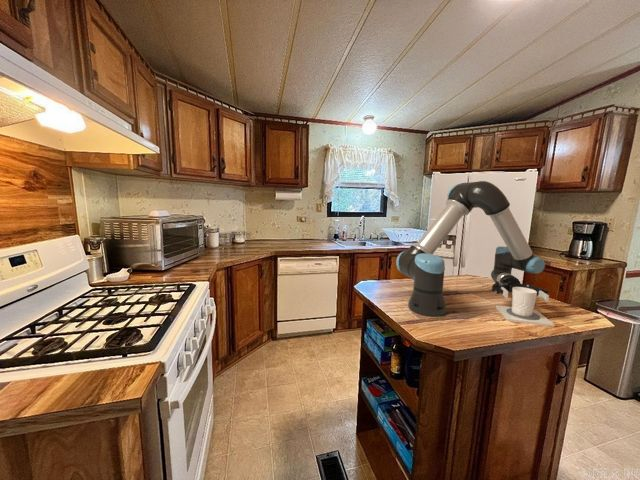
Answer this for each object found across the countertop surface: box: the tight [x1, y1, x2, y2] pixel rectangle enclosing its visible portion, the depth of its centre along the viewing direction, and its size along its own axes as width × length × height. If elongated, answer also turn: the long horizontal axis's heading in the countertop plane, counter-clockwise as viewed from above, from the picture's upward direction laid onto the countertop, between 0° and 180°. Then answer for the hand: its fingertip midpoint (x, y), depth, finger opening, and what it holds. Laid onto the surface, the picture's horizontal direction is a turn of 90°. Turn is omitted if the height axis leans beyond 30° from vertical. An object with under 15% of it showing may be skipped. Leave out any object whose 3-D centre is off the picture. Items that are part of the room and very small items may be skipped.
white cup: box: [511, 287, 537, 317], centre depth 107 cm, size 8×8×10 cm
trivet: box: [495, 304, 555, 327], centre depth 108 cm, size 15×15×1 cm
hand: (526, 296), depth 105 cm, fingers open, 13 cm apart
